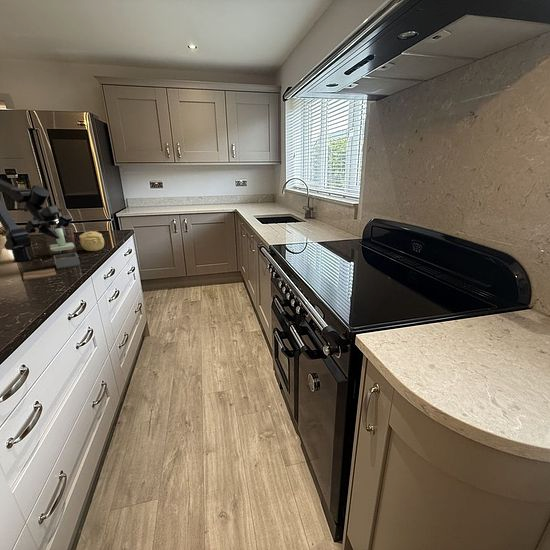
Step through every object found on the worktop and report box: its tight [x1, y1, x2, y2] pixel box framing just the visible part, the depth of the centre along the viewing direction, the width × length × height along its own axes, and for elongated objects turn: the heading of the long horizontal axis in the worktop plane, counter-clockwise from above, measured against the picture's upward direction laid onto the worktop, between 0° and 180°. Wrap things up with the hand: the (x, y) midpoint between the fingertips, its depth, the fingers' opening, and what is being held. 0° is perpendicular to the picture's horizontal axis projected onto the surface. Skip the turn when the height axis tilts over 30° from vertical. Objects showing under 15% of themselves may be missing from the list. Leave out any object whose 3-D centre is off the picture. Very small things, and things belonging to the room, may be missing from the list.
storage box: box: [53, 252, 81, 270], centre depth 141 cm, size 9×9×4 cm
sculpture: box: [78, 230, 105, 252], centre depth 169 cm, size 12×12×11 cm
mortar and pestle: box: [54, 217, 78, 255], centre depth 158 cm, size 12×9×20 cm
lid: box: [49, 228, 76, 252], centre depth 137 cm, size 9×9×9 cm
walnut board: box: [22, 267, 57, 282], centre depth 129 cm, size 11×11×1 cm
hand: (62, 237), depth 137 cm, fingers closed on lid, 3 cm apart
